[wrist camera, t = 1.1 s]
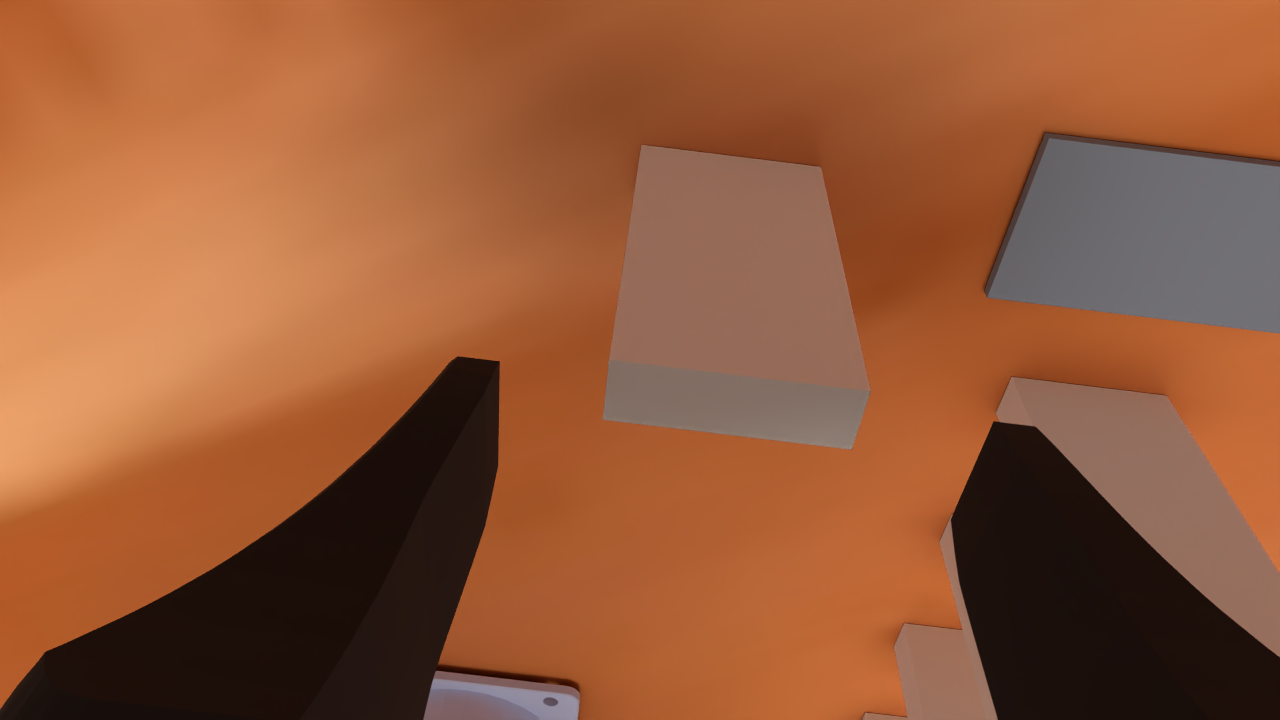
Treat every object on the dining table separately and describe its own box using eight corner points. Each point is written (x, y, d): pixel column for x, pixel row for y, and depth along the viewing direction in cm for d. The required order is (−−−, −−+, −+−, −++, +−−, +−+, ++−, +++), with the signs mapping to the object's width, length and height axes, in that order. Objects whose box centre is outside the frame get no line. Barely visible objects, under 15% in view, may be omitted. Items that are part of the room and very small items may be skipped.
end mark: (984, 290, 22) (987, 297, 22) (1045, 132, 20) (1049, 138, 19) (1273, 326, 22) (1279, 333, 22) (1369, 172, 20) (1377, 179, 19)
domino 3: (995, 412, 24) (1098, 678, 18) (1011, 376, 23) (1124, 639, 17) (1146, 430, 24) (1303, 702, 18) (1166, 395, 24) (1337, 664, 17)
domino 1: (636, 193, 21) (602, 419, 15) (641, 144, 20) (608, 360, 14) (809, 215, 21) (851, 449, 15) (821, 166, 20) (870, 391, 14)
